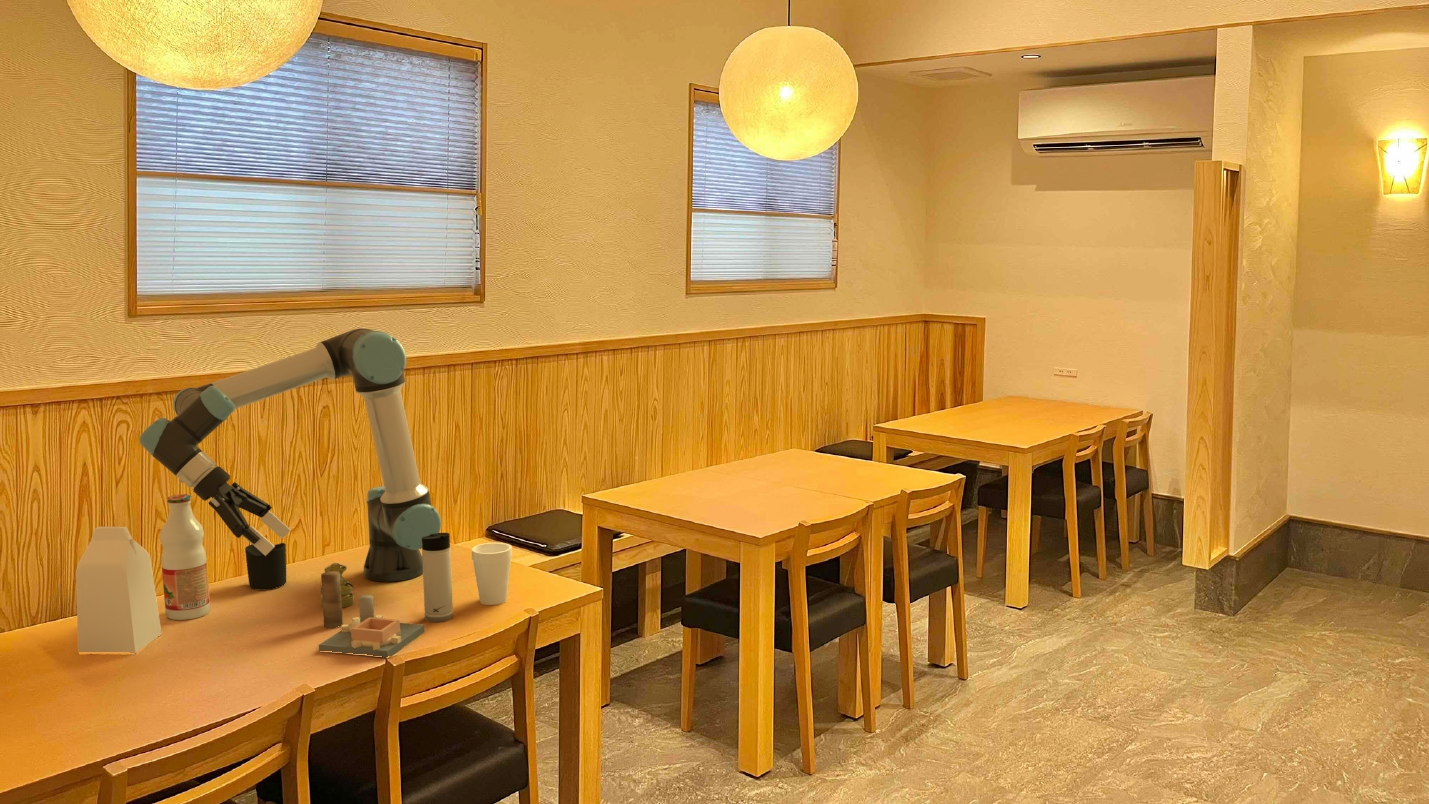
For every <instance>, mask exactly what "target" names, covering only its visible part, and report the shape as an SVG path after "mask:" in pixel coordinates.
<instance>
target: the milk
mask: <svg viewBox="0 0 1429 804" xmlns="http://www.w3.org/2000/svg"><path fill="white" fill-rule="evenodd" d="M154 578H155V577H154V573H153V565H152V558H151V555H150V553H149V552H148V551H147V549H145V548H144V547H143V546H142V545H140V543H138V542H137V541H136V540H135V539H134V538H133V537H132V534H131V533H130V531H129V529H128V527H127V526H97V527H95V528H94V531H93V533H92V536H91V539H90V541H89V543H88V545H87V546H86V549H85V550H84V552H83V554H82V556H81V558H80V559H79V562H78V563H77V566H76V570H75V585H76V589H75V591H76V617H77V618H76V619H77V620H76V621H77V623H76V624H77V646H78V647H77V649H78V650H77V653H78V652H130V653H136V652H137V651H139V650H140V649H142V648H143V647H144V646H146V645H147V644H149V643H150V642H151V641H153V640H154V639H156V638H157V637H158V636H160V635H161V634H162V627H161V621H160V613H159V612H160V611H159V606H158V600H157V594H156V592H157V591H156V586H155V585H156V584H155V579H154ZM162 635H163V634H162ZM162 635H161V636H162ZM161 636H160V637H161ZM157 639H158V638H157ZM157 639H156V640H157ZM153 642H154V641H153ZM149 645H150V644H149Z"/></svg>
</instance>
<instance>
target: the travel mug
mask: <svg viewBox="0 0 1429 804" xmlns="http://www.w3.org/2000/svg"><path fill="white" fill-rule="evenodd" d="M421 551H422V552H421V555H422V561H423V574H422V578H423V580H422V585H423V602H424V603H423V604H424V619H425V620H426V621H428V622H430V623H441V622H442V623H443V622H447V621H449V620H452V618H453V617H454V611H453V610H454V609H453V607H454V606H453V586H452V585H453V581H452V580H453V578H452V557H451V554H452V552H451V537H450V532H439V533H435V534H430V536H426V537H425V536H424V537H422V549H421Z"/></svg>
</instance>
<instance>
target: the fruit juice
mask: <svg viewBox="0 0 1429 804" xmlns="http://www.w3.org/2000/svg"><path fill="white" fill-rule="evenodd" d="M191 503H192V496H191V494H188V493H187V494H185V493H181V494H180V493H179V494H173V495H170V496H169V495H168V496H167V504H168V506H169V512H168V516H167V519H166V522H165V523H164V525H163V526H161V527H162V528H161V529H160V531H159V532H160V533H159V538H160V542H161V545H162V553H161V556H160V557H161V558H160V559H161V562H160V563H161V572H162V573H161V574H162V585H163V600H164V609H165V616H166V617H167V618H168V619H169V620H173V621H187V620H193V619H197V618H201V617H203V616H205V615H207V614H208V613H210V610H211V603H210V602H211V600H210V590H209V589H210V588H209V577H208V576H209V574H208V563H207V562H208V561H207V560H208V559H207V552H206V548H205V547H204V545H203V542H204V536H205V532H204V526H203V525H202V524H201V523H200V521H198V519H197V518H196V517H195V515H194V513H193V510H192V507H191Z"/></svg>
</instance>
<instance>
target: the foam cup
mask: <svg viewBox="0 0 1429 804" xmlns="http://www.w3.org/2000/svg"><path fill="white" fill-rule="evenodd" d="M512 558H513V546H512V545H511V544H510V543H505V542H486V543H481V544H477V545H475V546H473V547H471V560H472V562H473V568H474V574H475V579H476V585H477V591H478V597H479V602H480V603H481V604H483V605H487V606H489V605H490V606H496V605H501V604H505V603H506V602H507V601H508V592H509V582H510V573H511V562H512Z"/></svg>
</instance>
